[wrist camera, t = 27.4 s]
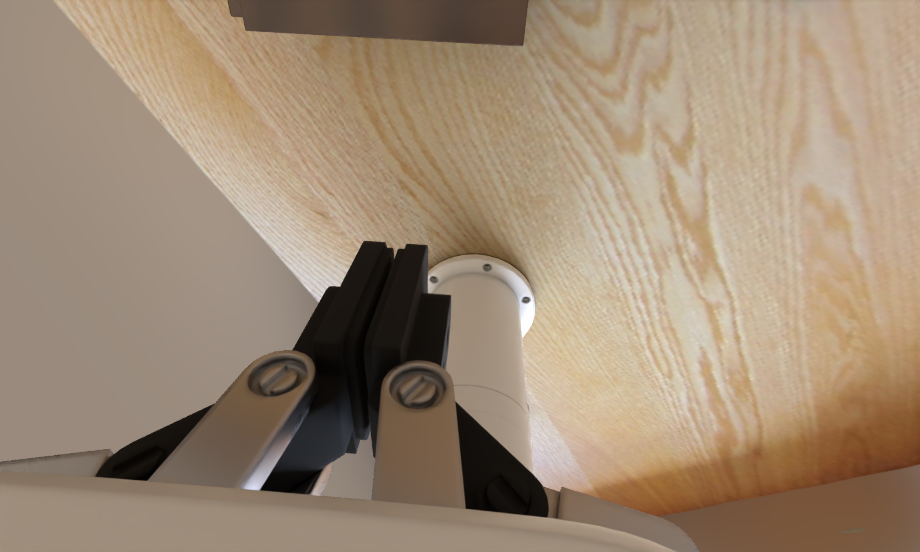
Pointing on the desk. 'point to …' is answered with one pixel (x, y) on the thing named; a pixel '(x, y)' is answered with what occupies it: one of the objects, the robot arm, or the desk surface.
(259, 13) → the cabinet
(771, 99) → the desk surface
